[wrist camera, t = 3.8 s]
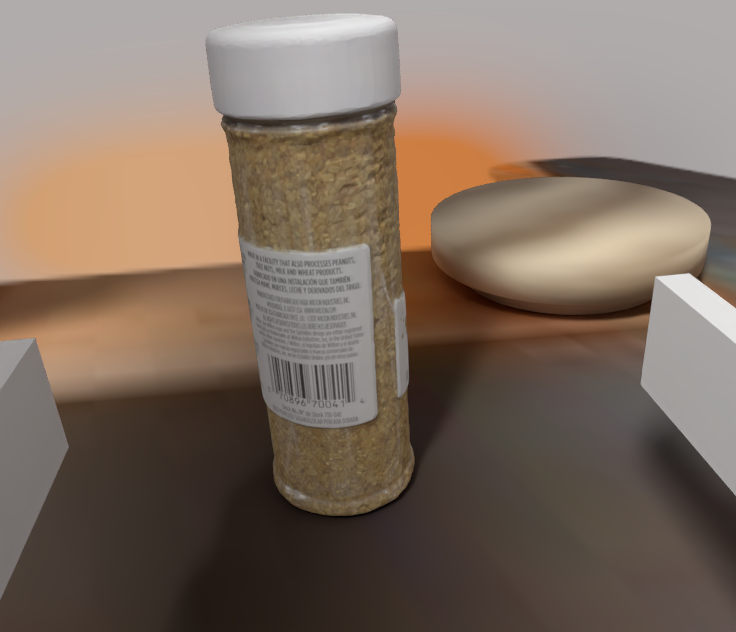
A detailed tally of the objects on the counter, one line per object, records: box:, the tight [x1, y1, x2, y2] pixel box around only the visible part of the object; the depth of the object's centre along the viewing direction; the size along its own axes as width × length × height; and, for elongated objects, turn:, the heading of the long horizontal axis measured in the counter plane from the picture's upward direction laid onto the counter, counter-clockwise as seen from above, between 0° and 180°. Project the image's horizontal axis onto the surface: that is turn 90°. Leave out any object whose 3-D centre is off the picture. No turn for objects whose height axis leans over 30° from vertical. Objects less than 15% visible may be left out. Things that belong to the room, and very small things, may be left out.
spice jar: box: [206, 13, 415, 516], centre depth 20 cm, size 5×5×13 cm
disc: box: [431, 177, 711, 315], centre depth 35 cm, size 13×13×3 cm
